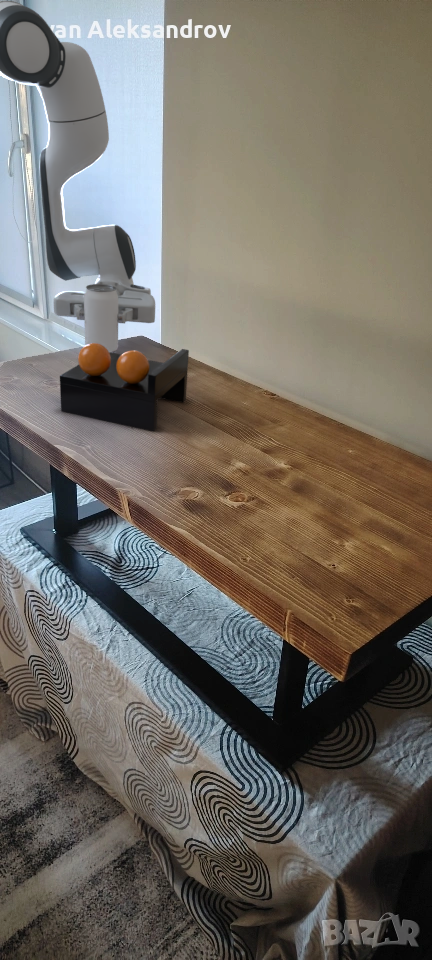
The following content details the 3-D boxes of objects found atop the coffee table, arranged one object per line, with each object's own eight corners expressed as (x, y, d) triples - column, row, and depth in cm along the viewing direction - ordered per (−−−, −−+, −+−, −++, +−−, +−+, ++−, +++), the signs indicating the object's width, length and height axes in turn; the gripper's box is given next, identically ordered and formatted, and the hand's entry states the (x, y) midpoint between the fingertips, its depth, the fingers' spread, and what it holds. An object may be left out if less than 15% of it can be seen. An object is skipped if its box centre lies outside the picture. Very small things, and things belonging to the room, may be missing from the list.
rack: (61, 411, 100) (57, 344, 94) (102, 383, 111) (101, 322, 106) (153, 431, 96) (156, 362, 90) (185, 400, 107) (189, 338, 102)
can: (124, 349, 125) (125, 288, 119) (102, 356, 120) (102, 293, 114) (100, 341, 128) (100, 281, 122) (78, 348, 123) (76, 286, 117)
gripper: (59, 280, 130) (45, 296, 118) (157, 288, 131) (154, 305, 119) (60, 310, 133) (46, 329, 121) (156, 318, 134) (152, 337, 122)
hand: (101, 317), depth 120 cm, fingers closed on can, 6 cm apart
